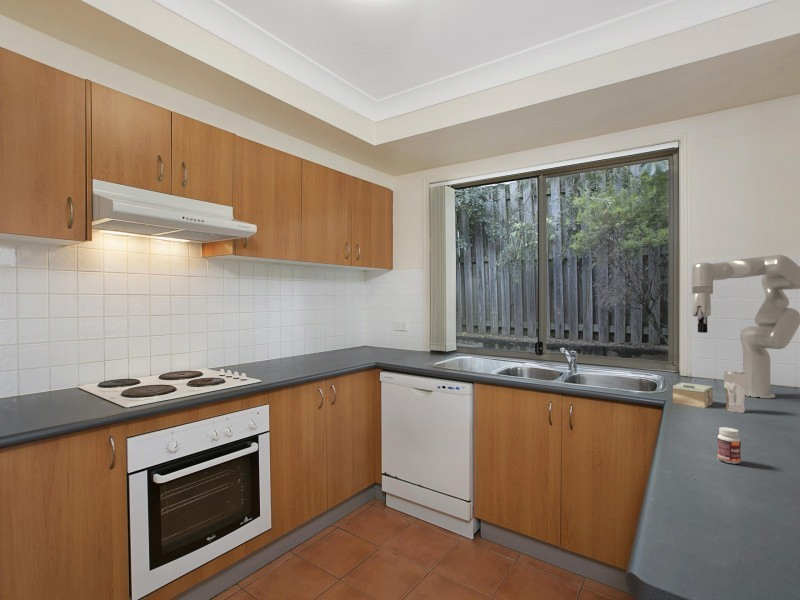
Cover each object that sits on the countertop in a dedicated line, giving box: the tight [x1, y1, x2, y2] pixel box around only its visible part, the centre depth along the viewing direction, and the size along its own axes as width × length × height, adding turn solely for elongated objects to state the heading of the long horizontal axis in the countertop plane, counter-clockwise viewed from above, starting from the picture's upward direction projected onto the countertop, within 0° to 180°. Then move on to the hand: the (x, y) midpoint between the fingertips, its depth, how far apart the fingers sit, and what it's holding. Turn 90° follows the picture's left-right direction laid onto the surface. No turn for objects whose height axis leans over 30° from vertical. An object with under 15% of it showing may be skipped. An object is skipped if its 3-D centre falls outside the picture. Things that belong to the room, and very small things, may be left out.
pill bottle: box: [717, 426, 742, 462], centre depth 109 cm, size 5×5×8 cm
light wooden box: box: [672, 387, 714, 409], centre depth 175 cm, size 12×11×6 cm
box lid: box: [672, 382, 714, 392], centre depth 175 cm, size 12×11×2 cm
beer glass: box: [723, 370, 747, 414], centre depth 162 cm, size 7×7×15 cm
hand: (702, 332), depth 185 cm, fingers closed
